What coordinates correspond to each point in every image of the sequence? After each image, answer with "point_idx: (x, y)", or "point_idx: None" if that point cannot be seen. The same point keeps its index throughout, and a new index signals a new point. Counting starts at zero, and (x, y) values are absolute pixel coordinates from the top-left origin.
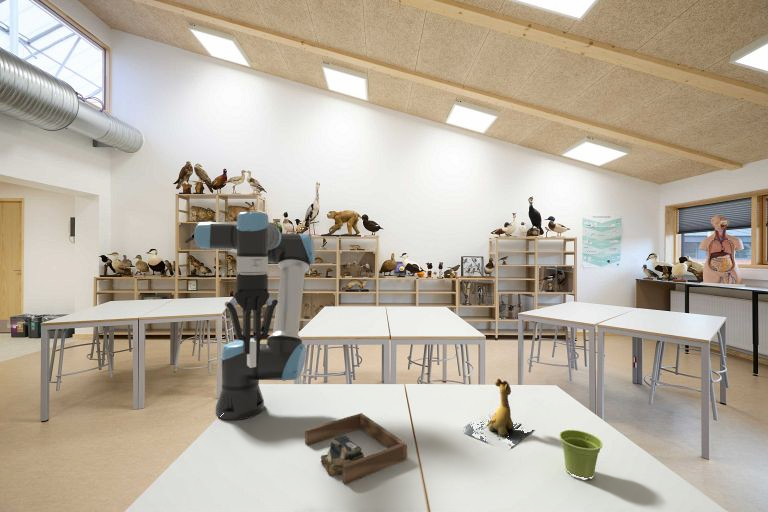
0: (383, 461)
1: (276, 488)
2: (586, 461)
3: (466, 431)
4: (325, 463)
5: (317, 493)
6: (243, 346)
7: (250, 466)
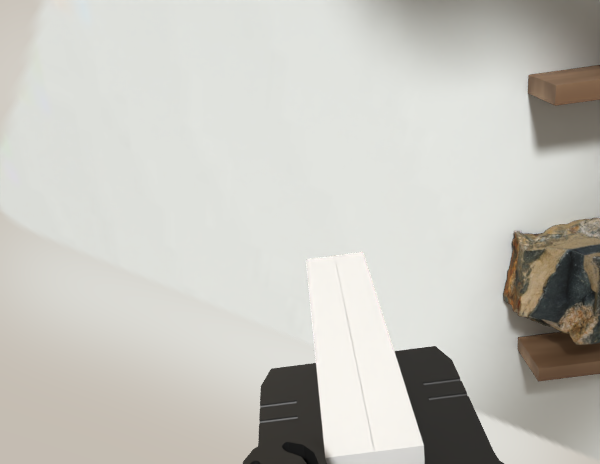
0: None
1: None
2: None
3: None
4: (517, 270)
5: None
6: (260, 443)
7: (296, 145)
